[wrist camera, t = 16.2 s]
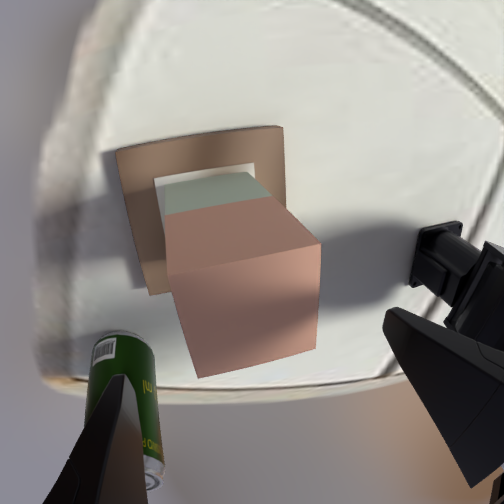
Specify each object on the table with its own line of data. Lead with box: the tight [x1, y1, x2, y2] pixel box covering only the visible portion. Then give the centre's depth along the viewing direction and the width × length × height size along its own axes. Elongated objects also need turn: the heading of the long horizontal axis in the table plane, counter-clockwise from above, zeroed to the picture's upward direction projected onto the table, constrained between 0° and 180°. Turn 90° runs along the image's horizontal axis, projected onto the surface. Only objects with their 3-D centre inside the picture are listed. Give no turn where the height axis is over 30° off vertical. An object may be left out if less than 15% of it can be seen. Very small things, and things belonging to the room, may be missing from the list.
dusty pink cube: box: [164, 196, 321, 378], centre depth 13 cm, size 5×5×5 cm
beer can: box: [84, 331, 165, 492], centre depth 19 cm, size 5×5×12 cm
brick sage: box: [165, 172, 272, 215], centre depth 17 cm, size 5×5×5 cm
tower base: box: [115, 125, 286, 296], centre depth 20 cm, size 10×10×1 cm
